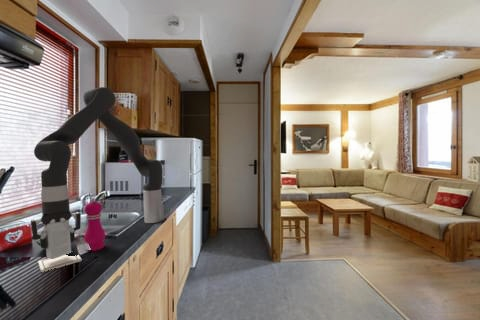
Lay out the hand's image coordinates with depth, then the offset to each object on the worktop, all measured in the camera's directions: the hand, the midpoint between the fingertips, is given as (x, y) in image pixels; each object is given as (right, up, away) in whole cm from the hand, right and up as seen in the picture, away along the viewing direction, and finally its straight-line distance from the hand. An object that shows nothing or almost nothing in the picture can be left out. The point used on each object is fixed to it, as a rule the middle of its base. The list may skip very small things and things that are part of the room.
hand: (58, 245), depth 84 cm
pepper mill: (+6, -5, +12) cm, 14 cm away
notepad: (0, -6, 0) cm, 6 cm away
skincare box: (0, -4, 0) cm, 4 cm away
